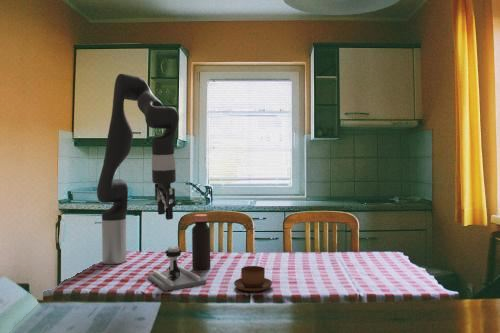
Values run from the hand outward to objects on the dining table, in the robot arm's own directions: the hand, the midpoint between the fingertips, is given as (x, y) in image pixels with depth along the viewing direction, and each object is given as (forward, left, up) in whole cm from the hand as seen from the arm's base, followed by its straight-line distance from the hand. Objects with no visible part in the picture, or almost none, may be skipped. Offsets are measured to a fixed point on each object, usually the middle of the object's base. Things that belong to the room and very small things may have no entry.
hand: (165, 216), depth 130 cm
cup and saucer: (+21, +21, -22) cm, 37 cm away
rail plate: (0, +3, -22) cm, 22 cm away
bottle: (-10, +17, -22) cm, 30 cm away
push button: (+1, +2, -21) cm, 21 cm away
